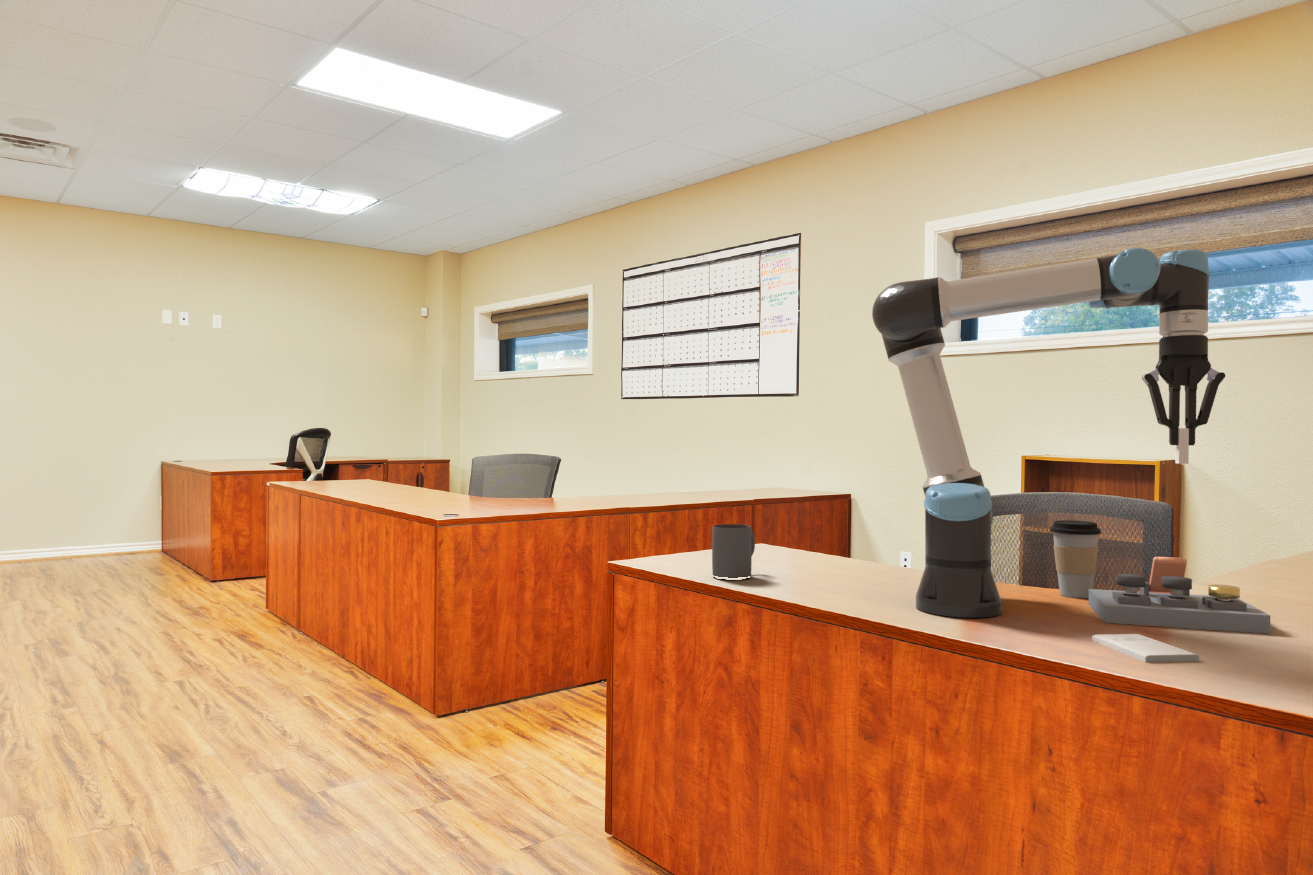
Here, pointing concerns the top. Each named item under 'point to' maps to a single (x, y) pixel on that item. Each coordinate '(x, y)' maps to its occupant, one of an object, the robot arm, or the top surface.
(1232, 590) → the brass button
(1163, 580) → the black button mid
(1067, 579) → the coffee cup
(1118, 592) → the control panel
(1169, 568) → the paddle lever
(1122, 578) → the black button left
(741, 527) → the mug
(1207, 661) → the top surface
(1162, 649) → the external hard drive
